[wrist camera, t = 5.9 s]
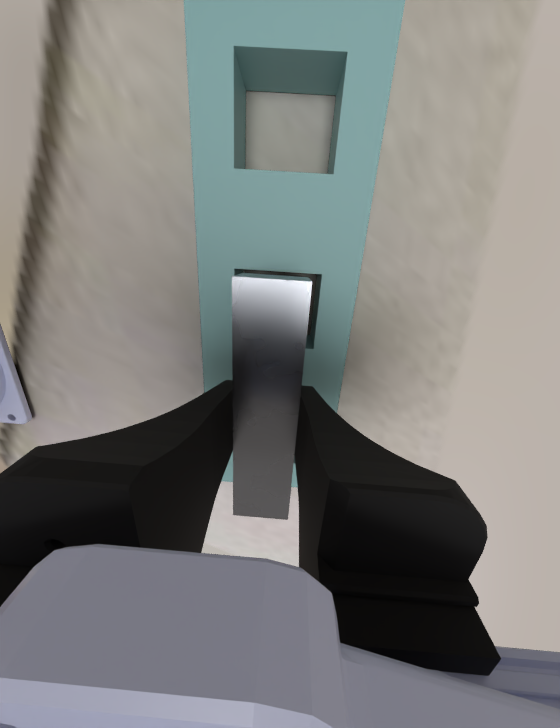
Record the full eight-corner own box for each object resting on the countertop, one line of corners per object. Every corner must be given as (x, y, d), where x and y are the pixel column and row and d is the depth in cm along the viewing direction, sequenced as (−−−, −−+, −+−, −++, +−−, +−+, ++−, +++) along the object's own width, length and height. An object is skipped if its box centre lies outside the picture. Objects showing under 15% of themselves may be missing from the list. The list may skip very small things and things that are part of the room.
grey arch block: (250, 441, 16) (233, 514, 12) (254, 269, 12) (231, 275, 8) (289, 444, 16) (287, 519, 12) (304, 273, 12) (312, 281, 8)
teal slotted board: (320, 460, 18) (324, 489, 16) (219, 451, 18) (208, 480, 16) (383, 37, 10) (409, -27, 8) (206, 28, 10) (181, -37, 8)
